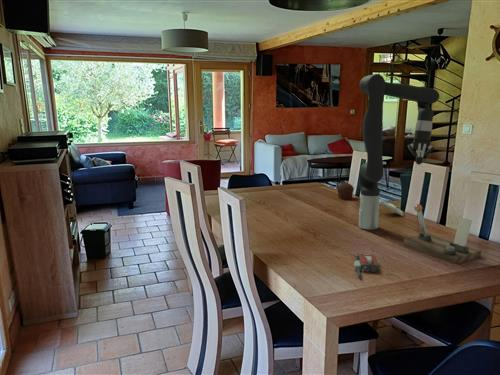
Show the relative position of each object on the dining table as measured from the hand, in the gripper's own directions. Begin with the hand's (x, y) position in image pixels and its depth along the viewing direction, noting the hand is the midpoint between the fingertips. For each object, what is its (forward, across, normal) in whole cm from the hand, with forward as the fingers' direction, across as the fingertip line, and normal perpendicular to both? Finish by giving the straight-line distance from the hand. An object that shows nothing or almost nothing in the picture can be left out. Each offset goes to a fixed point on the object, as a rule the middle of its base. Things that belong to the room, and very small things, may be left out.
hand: (418, 164), depth 200 cm
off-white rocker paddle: (+29, +9, -44) cm, 53 cm away
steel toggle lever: (+29, -1, -32) cm, 43 cm away
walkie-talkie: (+38, -28, -62) cm, 78 cm away
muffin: (+31, -30, +59) cm, 73 cm away
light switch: (+31, -6, +21) cm, 38 cm away
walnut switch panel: (+33, +5, -38) cm, 50 cm away
